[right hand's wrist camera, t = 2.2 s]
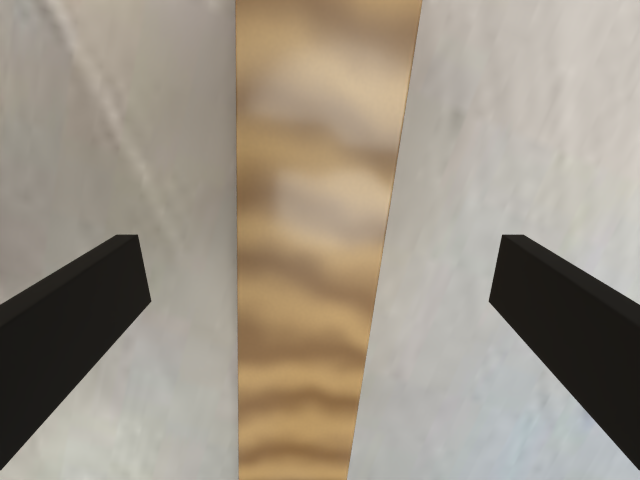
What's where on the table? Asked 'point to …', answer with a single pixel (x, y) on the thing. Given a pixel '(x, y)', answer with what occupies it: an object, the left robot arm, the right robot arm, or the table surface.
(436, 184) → the table surface
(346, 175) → the wooden beam
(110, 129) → the table surface
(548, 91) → the table surface
